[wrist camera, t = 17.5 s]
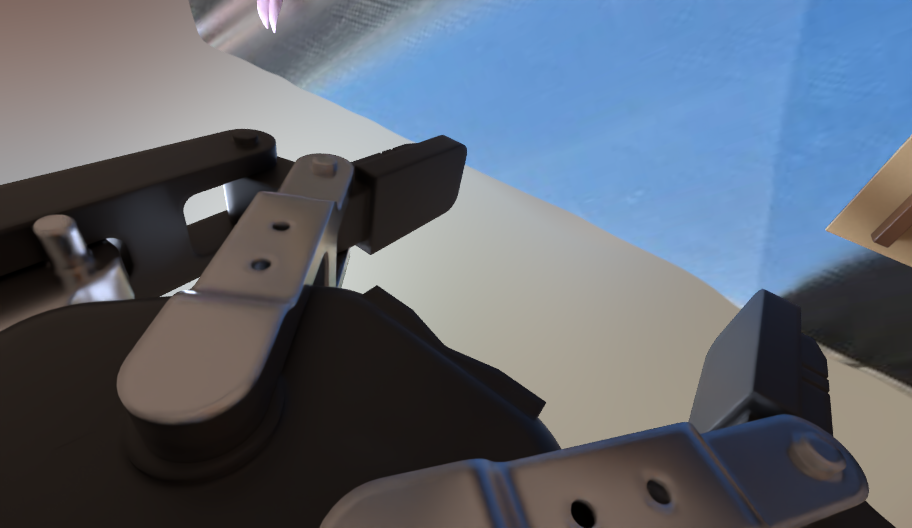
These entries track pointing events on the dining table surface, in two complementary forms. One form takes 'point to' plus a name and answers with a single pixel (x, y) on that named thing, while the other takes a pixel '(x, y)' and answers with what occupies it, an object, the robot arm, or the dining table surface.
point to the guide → (882, 210)
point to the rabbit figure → (269, 12)
